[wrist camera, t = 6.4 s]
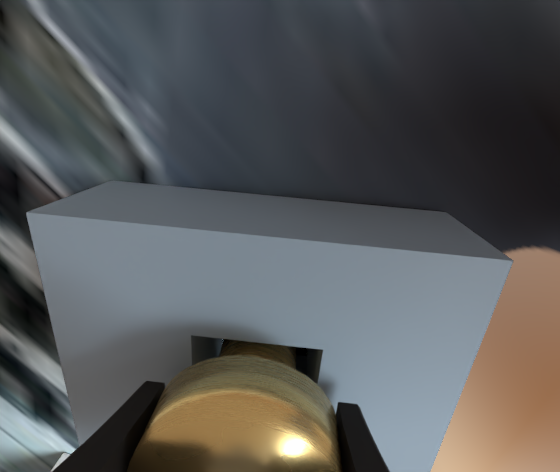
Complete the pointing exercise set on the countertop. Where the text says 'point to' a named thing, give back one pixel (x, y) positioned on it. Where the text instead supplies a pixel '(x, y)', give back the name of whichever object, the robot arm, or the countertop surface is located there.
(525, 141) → the countertop surface
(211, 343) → the block
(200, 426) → the brass door knob
